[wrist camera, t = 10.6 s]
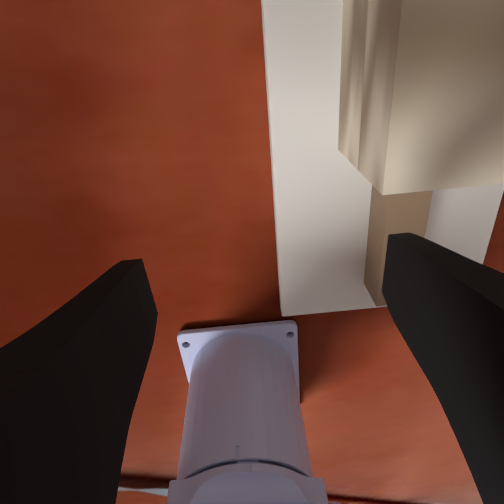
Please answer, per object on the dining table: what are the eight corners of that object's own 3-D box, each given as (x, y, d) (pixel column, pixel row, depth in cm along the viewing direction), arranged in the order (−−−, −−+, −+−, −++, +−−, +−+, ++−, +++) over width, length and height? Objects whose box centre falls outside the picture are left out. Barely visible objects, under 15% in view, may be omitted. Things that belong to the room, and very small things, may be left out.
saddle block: (453, 137, 17) (548, 178, 12) (337, 149, 17) (382, 195, 12) (496, -84, 13) (668, -167, 8) (345, -68, 13) (416, -140, 8)
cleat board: (464, 288, 23) (516, 344, 19) (280, 306, 23) (290, 366, 19) (580, -153, 13) (752, -250, 9) (253, -117, 13) (262, -196, 9)
